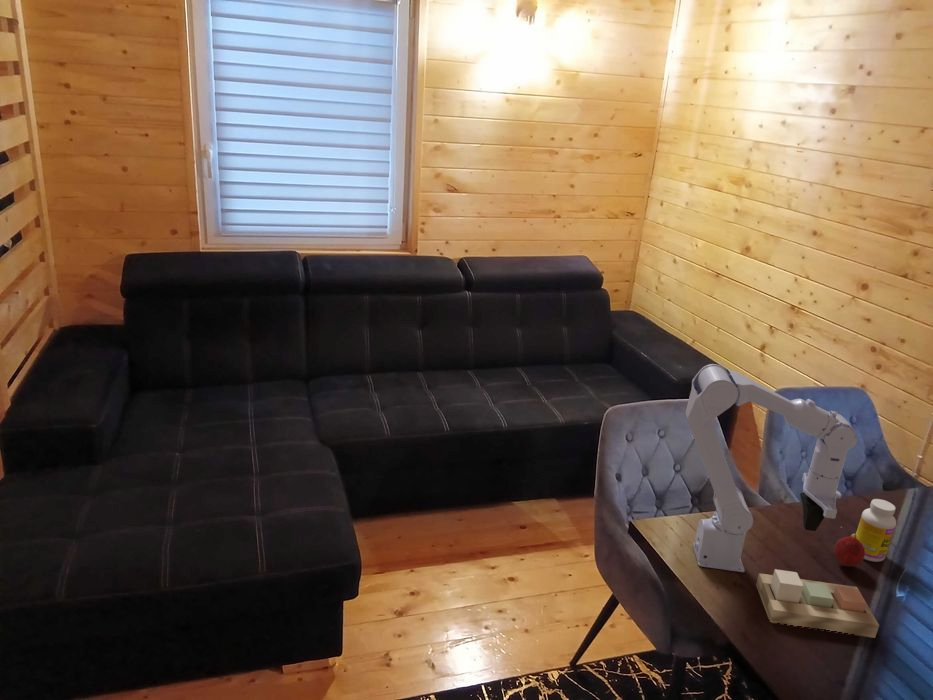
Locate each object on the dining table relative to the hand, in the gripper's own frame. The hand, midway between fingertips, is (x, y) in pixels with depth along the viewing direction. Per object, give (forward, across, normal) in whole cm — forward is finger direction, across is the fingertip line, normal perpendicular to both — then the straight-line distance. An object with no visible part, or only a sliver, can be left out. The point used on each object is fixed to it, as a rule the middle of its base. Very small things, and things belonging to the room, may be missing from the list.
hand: (809, 528), depth 145 cm
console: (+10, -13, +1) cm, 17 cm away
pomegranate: (+11, +4, -11) cm, 16 cm away
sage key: (+9, -13, +1) cm, 16 cm away
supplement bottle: (+11, +10, -18) cm, 23 cm away
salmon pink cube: (+9, -13, -5) cm, 17 cm away
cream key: (+8, -13, +7) cm, 17 cm away
